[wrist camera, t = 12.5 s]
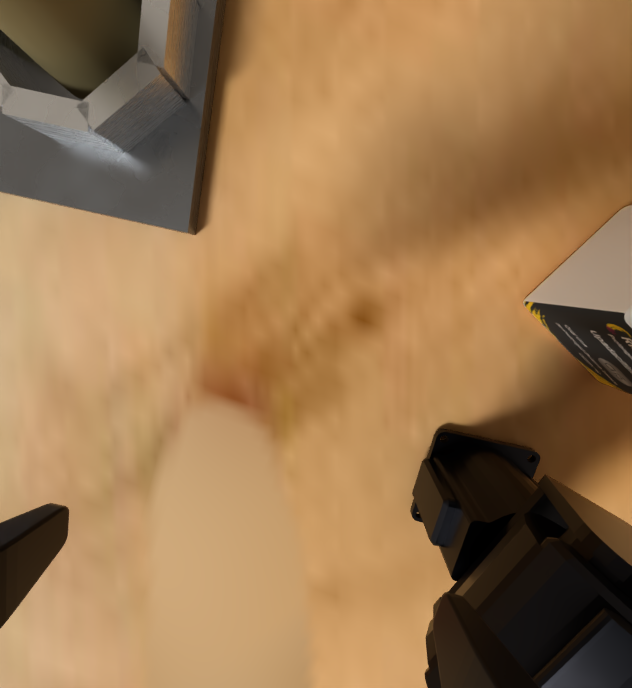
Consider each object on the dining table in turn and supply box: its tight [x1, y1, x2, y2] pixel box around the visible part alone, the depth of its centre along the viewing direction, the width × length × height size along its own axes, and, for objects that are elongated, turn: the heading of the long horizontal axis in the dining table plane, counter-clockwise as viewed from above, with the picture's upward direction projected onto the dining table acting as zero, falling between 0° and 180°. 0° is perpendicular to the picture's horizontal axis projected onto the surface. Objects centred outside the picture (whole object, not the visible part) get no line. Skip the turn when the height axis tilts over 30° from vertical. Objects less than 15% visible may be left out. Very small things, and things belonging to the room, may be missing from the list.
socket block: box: [0, 0, 226, 235], centre depth 16 cm, size 15×15×4 cm
